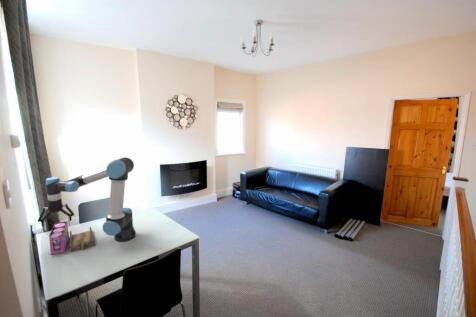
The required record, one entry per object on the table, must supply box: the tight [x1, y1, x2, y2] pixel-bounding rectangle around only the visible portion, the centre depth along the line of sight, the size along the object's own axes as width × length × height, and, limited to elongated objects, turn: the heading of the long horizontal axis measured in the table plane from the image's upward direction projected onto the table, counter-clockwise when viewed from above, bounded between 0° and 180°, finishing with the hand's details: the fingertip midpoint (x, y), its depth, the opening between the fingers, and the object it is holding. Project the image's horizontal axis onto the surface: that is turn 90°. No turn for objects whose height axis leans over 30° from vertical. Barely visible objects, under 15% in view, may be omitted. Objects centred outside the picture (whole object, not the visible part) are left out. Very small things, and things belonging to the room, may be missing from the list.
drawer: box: [69, 226, 95, 252], centre depth 172 cm, size 14×29×8 cm, turn 36°
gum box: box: [48, 221, 70, 256], centre depth 165 cm, size 24×8×14 cm, turn 30°
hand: (57, 227), depth 164 cm, fingers open, 13 cm apart
